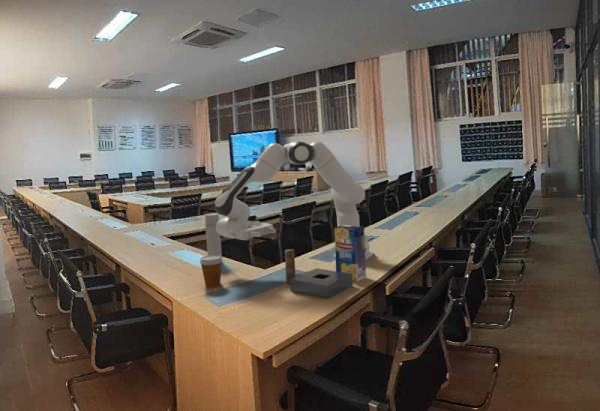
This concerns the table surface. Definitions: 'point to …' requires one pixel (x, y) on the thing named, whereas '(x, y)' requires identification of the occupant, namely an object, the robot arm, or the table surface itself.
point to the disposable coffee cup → (211, 270)
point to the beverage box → (350, 251)
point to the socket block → (321, 283)
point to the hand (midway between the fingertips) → (267, 232)
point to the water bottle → (212, 235)
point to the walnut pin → (289, 265)
